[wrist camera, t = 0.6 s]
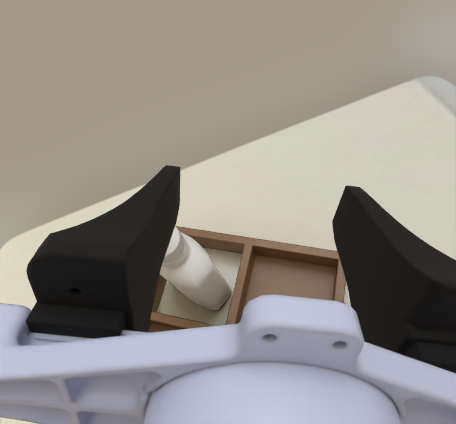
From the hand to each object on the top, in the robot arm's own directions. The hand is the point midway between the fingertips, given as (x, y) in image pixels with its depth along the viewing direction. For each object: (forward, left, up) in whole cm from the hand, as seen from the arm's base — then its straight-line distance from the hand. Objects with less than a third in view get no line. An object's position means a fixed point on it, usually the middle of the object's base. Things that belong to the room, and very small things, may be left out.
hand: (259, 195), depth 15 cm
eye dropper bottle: (-1, +7, -17) cm, 18 cm away
